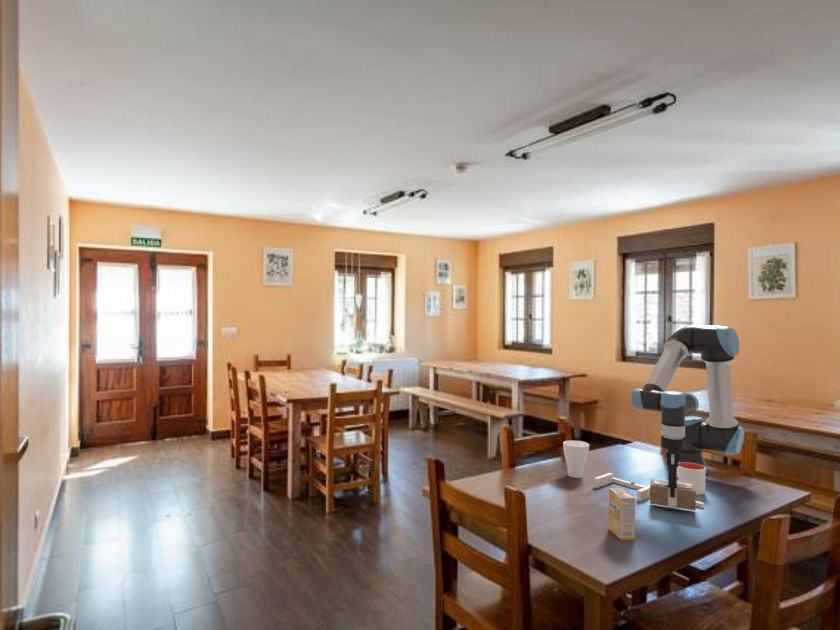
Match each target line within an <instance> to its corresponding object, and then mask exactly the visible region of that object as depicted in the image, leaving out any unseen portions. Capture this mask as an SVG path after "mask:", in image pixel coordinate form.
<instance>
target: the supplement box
mask: <svg viewBox="0 0 840 630" xmlns="http://www.w3.org/2000/svg"><path fill="white" fill-rule="evenodd" d="M608 490H609V491H608V530H609V531H610V532H612V534H613V535H615V536H616V537H617V538H618V539H619V540H620V541H635V539H636V538H635V533H636V532H635V531H636V497H635V496H634V495H632V494H631V493H629V491H627V490H626V489H624V488H623V487H621V488H620V487H619V488H618V487H615V488H614V487H613V488H611V487H610V488H609V489H608Z"/></svg>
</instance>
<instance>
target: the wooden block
mask: <svg viewBox="0 0 840 630" xmlns="http://www.w3.org/2000/svg"><path fill="white" fill-rule="evenodd" d="M668 484H669V481H668V480H666V479H665V480H664V479H657V478H653V479H652V478H651V479H650V498H649V504H650V505H656V506H664V507H669V508H676V509H682V510H689V511H695V512H696V509H697V508H696V501H697V499H696V497H697V495H696V490H695V485H692V484H688V483H681V482H677V507H673V506H668V487H666V485H668Z"/></svg>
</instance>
